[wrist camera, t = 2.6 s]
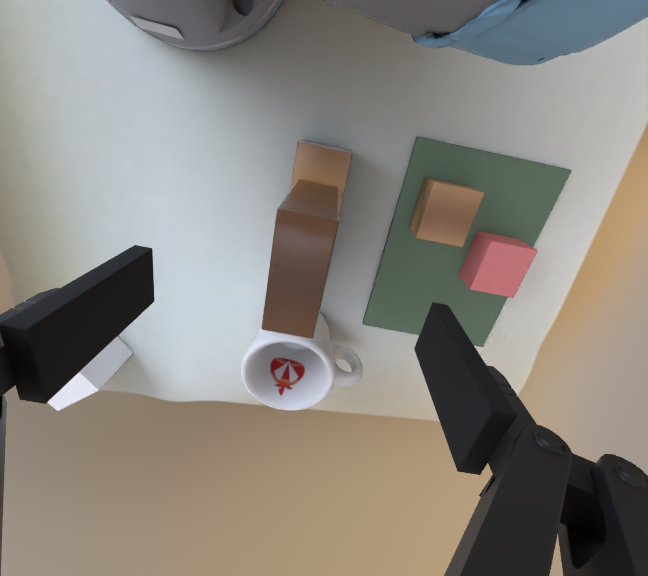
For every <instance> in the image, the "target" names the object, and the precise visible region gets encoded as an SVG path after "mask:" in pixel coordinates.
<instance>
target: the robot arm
mask: <svg viewBox="0 0 648 576" xmlns="http://www.w3.org/2000/svg"><path fill="white" fill-rule="evenodd" d="M282 1H283V0H107V2H109V3H110V4H111V5H112V6H113V7H114V8H115V9H116V10H117V11H118V12H120V13H121V14H122V15H123V16H124V17H125V18H127V19H128V20H129V21H130V22H132V23H133V24H134V25H136V26H137V27H139V28H140V29H142V30H143V31H145V32H146V33H148V34H150V35H152V36H154V37H156V38H158V39H160V40H162V41H164V42H166V43H169V44H171V45H174V46H177V47H180V48H184V49H189V50H195V51H212V50H219V49H224V48H227V47H230V46H233V45H236V44H238V43H240V42H242V41H244V40H246V39H247V38H249V37H250V36H252V35H253V34H255V33H256V32H257V31H258V30H259V29H261V28H262V27H263V26H264V25H265V24H266V23H267V22H268V21H269V19H270V18H271V17H272V16H273V14H274V13H275V12H276V10H277V9H278V7H279V6H280V4H281V3H282ZM324 1H327V2H329V3H332V4H334V5H337V6H339V7H342V8H345V9H347V10H350V11H352V12H355V13H357V14H360V15H362V16H365V17H368V18H370V19H373V20H375V21H378V22H380V23H383V24H385V25H388V26H391V27H393V28H396V29H398V30H401V31H403V32H406V33H408V34H411V35H412V38H413V40H414V42H416V43H418V44H421V45H423V46H426V47H432V48H441V47H446V46H451V47H454V48H457V49H460V50H463V51H467V52H470V53H473V54H476V55H479V56H483V57H486V58H489V59H492V60H495V61H499V62H502V63H506V64H511V65H535V64H541V63H543V62H546V61H549V60H551V59H554V58H556V57H558V56H562V55H568V54H570V53H576V52H581V51H583V50H585V49H588V48H590V47H593V46H595V45H597V44H599V43H601V42H603V41H605V40H607V39H609V38H611V37H613V36H615V35H616V34H618V33H620V32H622V31H624V30H625V29H627V28H629V27H631V26H632V25H634V24H636V23H637V22H639V21H641V20H643V19H644V18H646V17H648V0H324ZM153 302H154V281H153V256H152V248H147V247H142V246H137V245H134V246H133V247H131V248H129V249H127V250H126V251H124V252H122V253H121V254H119V255H117V256H115V257H114V258H112V259H110V260H108V261H107V262H105V263H103V264H101V265H100V266H98V267H96V268H95V269H93V270H91V271H89V272H88V273H86V274H84V275H82V276H81V277H79V278H77V279H75V280H74V281H72V282H70V283H69V284H67V285H65V286H63V287H62V288H54V289H51V290H48V291H45V292H41V293H39V294H37V295H35V296H33V297H31V298H30V299H28V300H26V302H22V303H21V304H19V305H17V306H15V308H12V309H10V310H8V311H6V312H4V313H2V314H1V315H0V575H1V549H2V519H3V491H4V464H5V462H4V461H5V435H6V432H5V431H6V406H7V402H6V399H5V396H4V394H5V393H6V392H7V391H8V390H10V389H11V388H12V387H14V386H15V385H16V388H17V391H18V395H19V398H20V400H26V401H32V402H39V403H45V404H46V403H47V402H48V401H49V400H50V399H51V398H52V397H53V396H54V395H55V394H57V393H58V392H59V391H60V390H61V389H62V388H63V387H64V386H65V385H66V384H67V383H68V382H69V381H70V380H71V379H72V378H73V377H75V376H76V375H77V374H78V373H79V372H80V371H81V370H82V369H83V368H84V367H85V366H86V365H87V364H88V363H89V362H90V361H91V360H93V359H94V358H95V357H96V356H97V355H98V354H99V353H100V352H101V351H102V350H103V349H104V348H105V347H106V346H107V345H108V344H109V343H111V342H112V341H113V340H114V339H115V338H116V337H117V336H118V335H119V334H120V333H121V332H122V331H123V330H124V329H125V328H126V327H127V326H129V325H130V324H131V323H132V322H133V321H134V320H135V319H136V318H137V317H138V316H139V315H140V314H141V313H142V312H143V311H144V310H145V309H147V308H148V307H149V306H150V305H151V304H152V303H153ZM414 349H415V352H416V355H417V358H418V360H419V363H420V366H421V369H422V372H423V375H424V378H425V380H426V383H427V386H428V389H429V392H430V395H431V397H432V400H433V403H434V406H435V409H436V412H437V414H438V417H439V420H440V423H441V426H442V429H443V431H444V434H445V437H446V440H447V442H448V445H449V448H450V451H451V454H452V457H453V460H454V462H455V465H456V468H457V471H459V472H465V473H471V474H478V475H480V474H481V473H482V471H483V469H484V468H485V466H486V464H487V463H488V464H489V466H490V468H491V471H492V473H493V475H492V477H491V478H490V480H489V481H488V483H487V484H486V486H485V487H484V489H483V490H482V492H481V493H480V495H479V496H480V497H481V498H480V500H479V502H478V505H477V507H476V509H475V511H474V513H473V515H472V517H471V519H470V522H469V524H468V526H467V528H466V530H465V532H464V534H463V537H462V539H461V541H460V543H459V545H458V547H457V549H456V552H455V554H454V556H453V558H452V560H451V562H450V564H449V567H448V568H447V571H446V573H445V575H444V576H549V574H550V569H551V564H552V559H553V554H554V549H555V544H556V539H557V534H558V538H559V545H560V552H561V561H562V568H563V576H648V476H647V475H646V474H645V473H644V472H643V471H642V470H641V469H640V468H639V467H637V466H636V465H634V464H633V463H631V462H629V461H627V460H625V459H623V458H621V457H619V456H616V455H613V454H604V455H603V456H601V458H600V459H599V460H598V461H597V463H594V462H592V461H589V460H587V459H584V458H582V457H580V456H577V455H575V454H573V453H572V452H571V450H570V448H569V447H568V445H567V444H566V443H565V442H564V441H563V440H562V439H561V438H560V437H559V436H558V435H557V434H555V433H554V432H552V431H551V430H549V429H547V428H545V427H543V426H540V425H537V424H536V423H535V421H534V419H533V418H532V417H531V415H530V414H529V412H528V411H527V409H526V408H525V406H524V405H523V403H522V402H521V400H520V399H519V397H517V394H516V393H515V391H514V390H513V389H511V385H510V384H509V383H508V381H507V380H506V378H505V377H504V376H503V375H502V374H501V373H500V372H499V371H498V370H497V369H495V368H494V367H493V366H487V365H486V364H485V363H484V361H483V360H482V358H481V356H480V355H479V353H478V352H477V350H476V348H475V347H474V345H473V344H472V342H471V341H470V339H469V337H468V336H467V334H466V333H465V331H464V329H463V328H462V326H461V325H460V323H459V322H458V320H457V318H456V317H455V315H454V314H453V312H452V310H451V309H450V307H449V306H448V305H445V304H440V303H435V302H432V305H431V307H430V310H429V312H428V315H427V317H426V320H425V323H424V325H423V328H422V330H421V333H420V335H419V338H418V341H417V343H416V346H415V348H414Z"/></svg>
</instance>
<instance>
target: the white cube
mask: <svg viewBox="0 0 648 576" xmlns="http://www.w3.org/2000/svg"><path fill="white" fill-rule="evenodd" d="M132 353H133V351H132V350H131V349H130V348H129V347H128V346H127V345H126V344H125V343H124V342H123V341H122V340H121V339H120V338H119V337H118V336H117V337H116V338H115V339H114V340H113V341H112V342H111V343H109V344H108V345H107V346H106V347H105V348H104V349H103V350H102V351H101V352H100V353H99V354H98V355H97V356H96V357H95V358H94V359H93V360H91V361H90V362H89V363H88V364H87V365H86V366H85V367H84V368H83V369H82V370H81V371H80V372H79V373H78V374H77V375H76V376H75V377H73V378H72V379H71V380H70V381H69V382H68V383H67V384H66V385H65V386H64V387H63V388H62V389H61V390H60V391H59V392H58V393H57V394H55V395H54V396H53V397H52V398H51V399H50V400H49V401H48V402H47V403H49V404H50V405H51V406H52V407H54V408H55V409H56V410H57V411H58V410H60V409H62V408H64V407H66V406H68V405H70V404H72V403H74V402H76V401H78V400H80V399H82V398H84V397H86V396H88V395H90V394H92V393H94V392H96V391H98V390H100V389H101V387H102V386H103V385H104V384H105V383H106V382H107V381H108V380H109V379H110V378H111V376H112V375H113V374H114V373H115V372H116V371H117V370H118V369H119V368H120V367H121V365H122V364H123V363H124V362H125V361H126V360H127V359H128V358H129V357H130V355H131V354H132Z"/></svg>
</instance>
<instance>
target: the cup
mask: <svg viewBox="0 0 648 576" xmlns="http://www.w3.org/2000/svg"><path fill="white" fill-rule="evenodd" d="M335 359H343V360H345V361H346V362H348V363H349V365H350V366H351V368H352V372H345V371H343V370H342V369H340V368H339V367H338V366H337V364H336V362H335ZM241 374H242V379H243V382H244V384H245V386H246V388H247V389H248V391H249V392H250V393H251V394H252V395H253V396H254V397H255V398H256V399H257V400H259V401H260V402H262V403H264V404H265V405H268V406H270V407H273V408H276V409H281V410H292V411H293V410H302V409H306V408H309V407H312V406H314V405H316V404H318V403H319V402H321V401H322V400H323V399H324V398H325V397H326V396H327V395H328V394H329V392H330V391H331V389H332V387H333V386H341V387H351V386H354V385H356V384H357V383H358V382H359V380H360V378H361V376H362V363H361V361H360V359H359V357H358V355H357V354H356V353H355V352H353V351H352V350H350V349H348V348H345V347H342V346H338V345H335V344H333V343H332V342H331V340H330V334H329V329H328V325H327V323H326V321H325V319H324V317H323V316H322V315H321V314H320V312H319V315H318V319H317V324H316V329H315V333H314V338H313V339H310V338H305V337H299V336H294V335H288V334H283V333H277V332H272V331H266V330H262V327H261V329H260V330H259V332H258V334H257V335H256V337H255V339H254V341H253V342H252V344H251V346H250V347H249V349H248V351H247V352H246V354H245V356H244V359H243V362H242V367H241Z"/></svg>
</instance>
